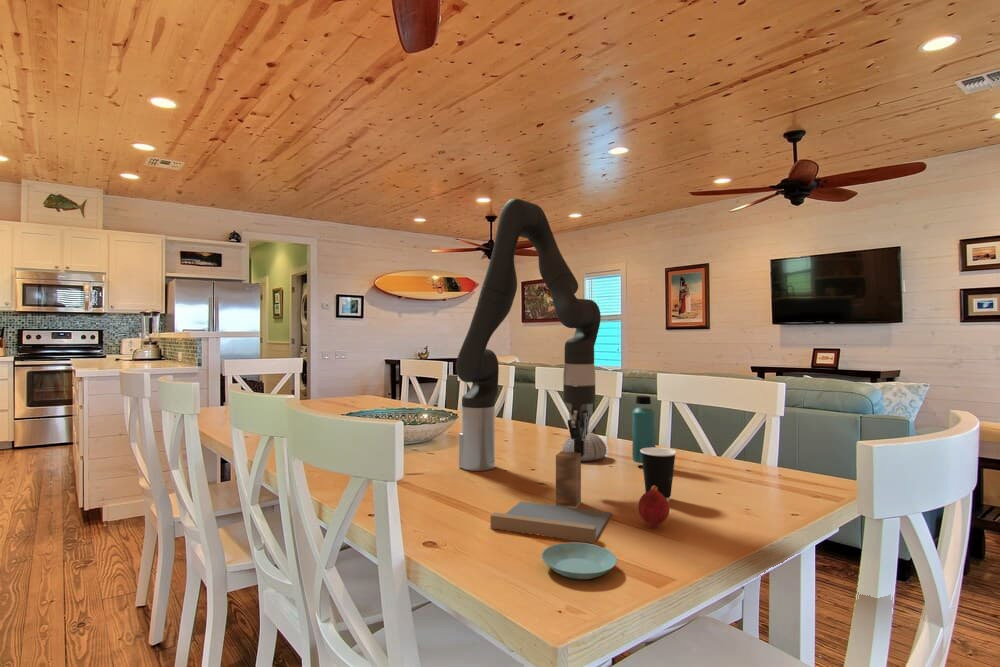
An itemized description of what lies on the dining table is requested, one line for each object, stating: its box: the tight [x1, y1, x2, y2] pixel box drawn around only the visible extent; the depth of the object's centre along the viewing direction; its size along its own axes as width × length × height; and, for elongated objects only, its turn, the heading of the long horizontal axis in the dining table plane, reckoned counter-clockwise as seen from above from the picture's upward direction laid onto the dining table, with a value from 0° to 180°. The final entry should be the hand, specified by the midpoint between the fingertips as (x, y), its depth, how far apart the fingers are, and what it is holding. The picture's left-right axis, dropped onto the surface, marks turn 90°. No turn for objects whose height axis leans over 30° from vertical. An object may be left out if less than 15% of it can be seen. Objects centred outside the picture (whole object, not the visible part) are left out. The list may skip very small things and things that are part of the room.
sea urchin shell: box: [562, 432, 608, 462], centre depth 165 cm, size 13×14×8 cm
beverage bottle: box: [631, 395, 657, 464], centre depth 155 cm, size 6×7×20 cm
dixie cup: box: [640, 447, 678, 502], centre depth 124 cm, size 8×8×11 cm
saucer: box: [541, 541, 618, 581], centre depth 87 cm, size 12×12×2 cm
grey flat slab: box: [490, 501, 612, 544], centre depth 109 cm, size 20×17×2 cm
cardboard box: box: [555, 450, 582, 508], centre depth 120 cm, size 4×4×11 cm
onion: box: [637, 485, 670, 528], centre depth 106 cm, size 6×6×8 cm
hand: (579, 455), depth 129 cm, fingers closed
